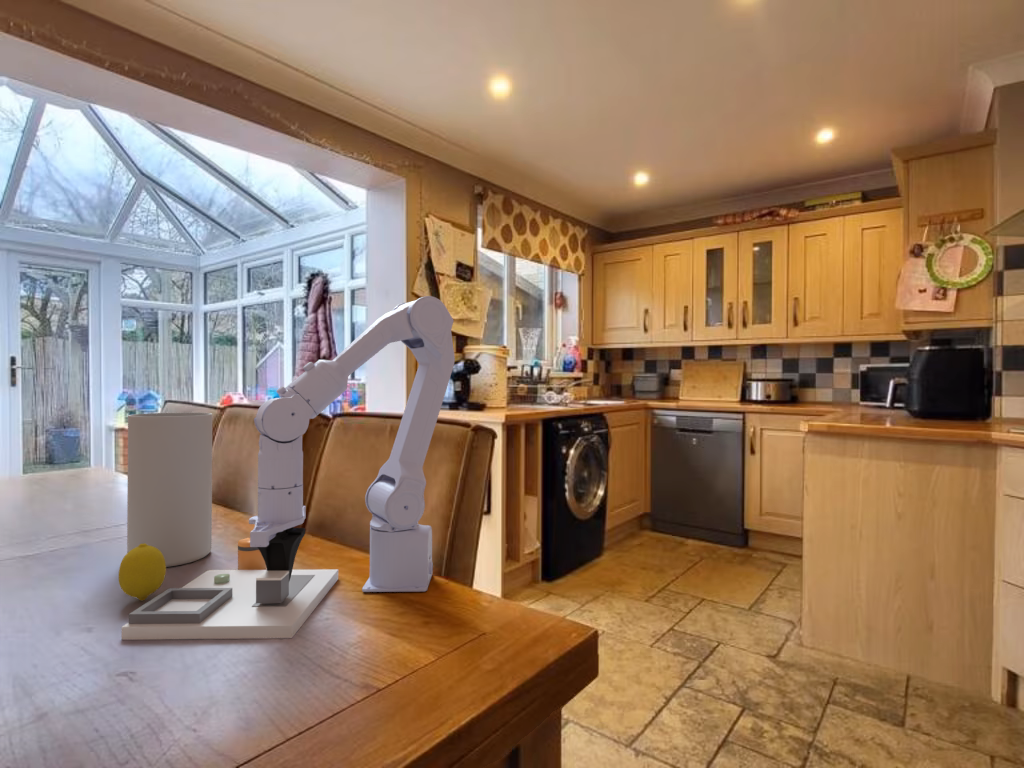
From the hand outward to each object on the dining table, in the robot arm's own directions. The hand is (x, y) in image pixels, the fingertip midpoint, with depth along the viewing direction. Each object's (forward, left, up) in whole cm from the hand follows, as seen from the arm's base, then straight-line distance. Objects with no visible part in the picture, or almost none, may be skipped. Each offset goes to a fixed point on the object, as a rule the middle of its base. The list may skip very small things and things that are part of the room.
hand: (280, 584), depth 76 cm
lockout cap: (+10, -14, -3) cm, 18 cm away
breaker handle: (0, +3, -1) cm, 3 cm away
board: (+5, 0, -3) cm, 6 cm away
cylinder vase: (+27, -21, -3) cm, 35 cm away
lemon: (+20, -2, -3) cm, 20 cm away
